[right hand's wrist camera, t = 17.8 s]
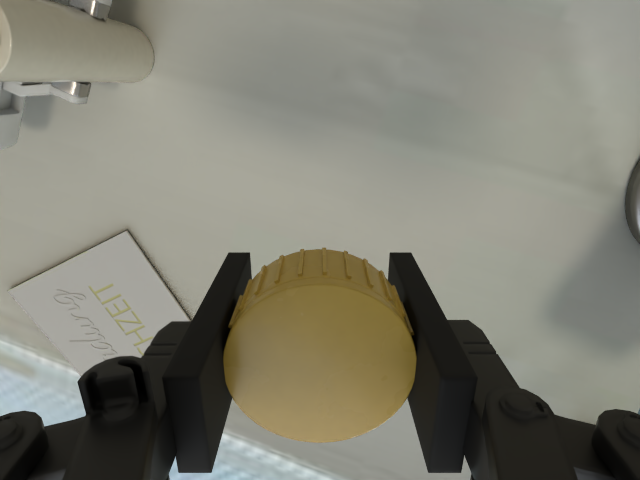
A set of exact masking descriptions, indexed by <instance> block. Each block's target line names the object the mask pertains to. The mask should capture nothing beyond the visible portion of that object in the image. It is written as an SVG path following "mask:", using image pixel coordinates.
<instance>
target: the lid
mask: <svg viewBox="0 0 640 480" xmlns="http://www.w3.org/2000/svg"><path fill="white" fill-rule="evenodd" d="M228 328H231V329H230V332H229V335H228V337H227V340H226V344H225V348H224V353H223V364H224V373H225V382H226V385H227V387H228V390H229V392H230V394H231V396H232V398H233V399H234V401H235V402H236V404H237V405H238V406H239V408H240V409H241V410H242V411H243V412H244V413H245V414H246V415H247V416H248V417H249V418H250V419H252V420H253V421H254V422H255V423H257V424H258V425H260V426H261V427H263V428H265V429H266V430H268V431H271V432H273V433H275V434H277V435H280V436H283V437H286V438H289V439H293V440H298V441H304V442H318V443H324V442H335V441H341V440H346V439H350V438H354V437H357V436H360V435H362V434H365V433H367V432H369V431H371V430H373V429H375V428H377V427H378V426H380V425H381V424H383V423H384V422H386V421H387V420H388V419H389V418H390V417H392V416H393V415H394V414H395V413H396V412H397V411H398V409H399V408H400V407H401V406H402V405H403V403H404V402H405V400H406V399H407V397H408V395H409V393H410V391H411V389H412V386H413V383H414V379H415V370H416V360H417V355H416V349H415V345H414V342H413V339H412V336H411V335H414V332H413V330H412V327H411V324H410V322H409V319H408V316H407V314H406V311H405V308H404V306H403V303H402V302H401V301H400V298H399V295H398V293H397V290H396V287H395V286H394V285H393V286H391V284H390V283H389V281H388V280H387V279H386V278H385V275H384V272H383V271H382V270H381V271H378V270H377V269H376V268H375V267H373V266H372V265H371V264H369V263H368V261H367V260H366V259H363V260H362V259H360V258H358V257H355V256H353V255H351V254H348V252H347V251H344V252H340V251H334V250H326V248H322V249H316V250H305V251H304V249H301V250H300V252H296V253H292V254H289V255H287V256H283V255H281V256H280V258H279V259H278V260H276V261H274V262H272V263H271V264H269V265H268V266H265V265H264V266H263V267H262V269H261V271H260V272H259V273H258V274H257V275H256V276H255V277H254V279H253V280H251V279H249V281H248V283H247V286H246V289H245V292H244V294H243V296H242V295H240V296H239V299H238V302H237V304H236V307H235V310H234V312H233V315H232V318H231V320H230V323H229V326H228Z"/></svg>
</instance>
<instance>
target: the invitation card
mask: <svg viewBox="0 0 640 480" xmlns="http://www.w3.org/2000/svg"><path fill="white" fill-rule="evenodd" d="M8 293H9V294H10V295H11V296H12V297H13V298H14V300H15V301H16V302H17V303H18V304H19V305H20V306H21V308H22V309H23V310H24V311H25V312H26V313H27V314H28V316H29V317H30V318H31V319H32V320H33V321H34V323H35V324H36V325H37V326H38V327H39V328H40V329H41V331H42V332H43V333H44V334H45V335H46V336H47V338H48V339H49V340H50V341H51V342H52V343H53V344H54V346H55V347H56V348H57V349H58V350H59V351H60V353H61V354H62V355H63V356H64V357H65V358H66V359H67V361H68V362H69V363H70V364H71V365H72V366H73V367H74V369H75V370H76V371H77V372H78V373H79V374H80V376H82V375H83V374H84V373H85V372H86V371H87V370H89V369H90V368H91V367H93V366H94V365H96V364H98V363H100V362H103V361H105V360H107V359H111V358H115V357H119V356H135V357H139V358H141V357H142V356H144V352H145V351H146V349H147V348H148V346H150V343H151V341H152V340H153V338H154V337H155V335H156V334H157V332H158V331H159V330H161V329H162V328H163V327H165V326H166V325H167V324H169V323H170V322H171V321H191V320H190V319H189V317H188V316H187V314H186V313H185V312H184V310H183V309H182V307H181V306H180V304H179V303H178V302H177V300H176V299H175V297H174V296H173V294H172V293H171V292H170V290H169V289H168V287H167V286H166V285H165V283H164V282H163V280H162V279H161V277H160V276H159V275H158V273H157V272H156V270H155V269H154V267H153V266H152V265H151V263H150V262H149V260H148V259H147V258H146V256H145V255H144V253H143V252H142V250H141V249H140V248H139V246H138V245H137V243H136V242H135V240H134V239H133V238H132V236H131V235H130V233H129V232H128V231H125V232H123V233H121V234H119V235H117V236H115V237H113V238H111V239H109V240H107V241H105V242H103V243H101V244H99V245H97V246H95V247H93V248H91V249H89V250H87V251H85V252H83V253H81V254H79V255H77V256H75V257H73V258H71V259H69V260H67V261H65V262H63V263H61V264H59V265H57V266H55V267H53V268H51V269H49V270H47V271H45V272H43V273H42V274H40V275H38V276H36V277H34V278H32V279H30V280H28V281H26V282H24V283H22V284H20V285H18V286H16V287H14V288H12V289H10V290H8Z"/></svg>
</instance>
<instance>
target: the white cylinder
mask: <svg viewBox="0 0 640 480" xmlns="http://www.w3.org/2000/svg"><path fill="white" fill-rule="evenodd" d="M153 64H154V53H153V48H152V46H151V43H150V41H149V40H148V38H147V37H146V35H145V34H144V33H143V32H142V31H141V30H139V29H138V28H136V27H134V26H132V25H129V24H126V23H123V22H119V21H116V20H113V19H110V18H107V21H105V20H103V19H99V18H96V17H94V16H91V15H89V14H88V13H86V12H85V11H83V10H80V9H77V8H74V7H70V6H67V5H64V4H61V3H57V2H54V1H51V0H0V82H120V83H133V82H138V81H141V80H143V79H144V78H146V77H147V76H148V75H149V73H150V72H151V70H152V67H153Z"/></svg>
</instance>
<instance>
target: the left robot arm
mask: <svg viewBox="0 0 640 480" xmlns="http://www.w3.org/2000/svg"><path fill="white" fill-rule="evenodd" d="M111 4H112V0H70V3H69V5H71V6H73V7H75V8H77V9H80V10H83V11H85V12H86V13H88V14H89V15H91V16H94V17H96V18H99V19H103V20H105V21H107V18H108V15H109V11H110V7H111ZM90 87H91V83H90V82H52V83H50V84H42V82H0V150H2V149H5V148H8V147H11V146H13V145H15V144H16V143H17V140H18V135H19V130H20V125H21V120H22V115H23V110H24V104H25V99H26V96H45V95H56V96H58V97H60V98H63V99H65V100H67V101H69V102H72V103H76V104H85V103H87V99H88V96H89V91H90Z"/></svg>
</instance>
